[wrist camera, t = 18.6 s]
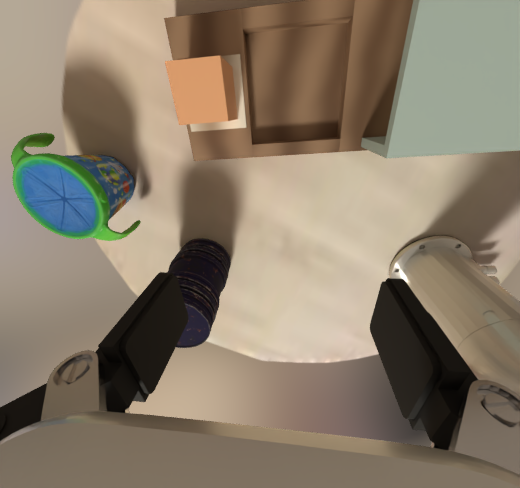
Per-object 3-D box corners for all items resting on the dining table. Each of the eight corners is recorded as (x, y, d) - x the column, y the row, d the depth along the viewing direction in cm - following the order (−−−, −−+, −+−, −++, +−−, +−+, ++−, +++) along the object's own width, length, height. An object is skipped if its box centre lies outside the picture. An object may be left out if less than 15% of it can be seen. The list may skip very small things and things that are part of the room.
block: (232, 66, 24) (220, 55, 19) (237, 119, 27) (228, 121, 22) (188, 71, 25) (165, 61, 20) (197, 122, 27) (179, 125, 22)
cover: (526, -22, 20) (648, -87, 13) (466, 140, 26) (528, 150, 20) (383, -4, 21) (431, -56, 14) (360, 146, 27) (386, 158, 21)
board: (406, -1, 23) (424, -16, 20) (379, 145, 30) (389, 148, 27) (175, 27, 25) (163, 17, 23) (200, 156, 33) (193, 161, 30)
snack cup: (49, 149, 34) (-31, 163, 25) (95, 110, 30) (22, 110, 22) (125, 231, 40) (83, 264, 32) (169, 206, 37) (136, 235, 28)
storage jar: (242, 264, 42) (226, 331, 29) (207, 288, 46) (180, 356, 33) (202, 227, 39) (165, 285, 26) (169, 256, 42) (122, 319, 30)
